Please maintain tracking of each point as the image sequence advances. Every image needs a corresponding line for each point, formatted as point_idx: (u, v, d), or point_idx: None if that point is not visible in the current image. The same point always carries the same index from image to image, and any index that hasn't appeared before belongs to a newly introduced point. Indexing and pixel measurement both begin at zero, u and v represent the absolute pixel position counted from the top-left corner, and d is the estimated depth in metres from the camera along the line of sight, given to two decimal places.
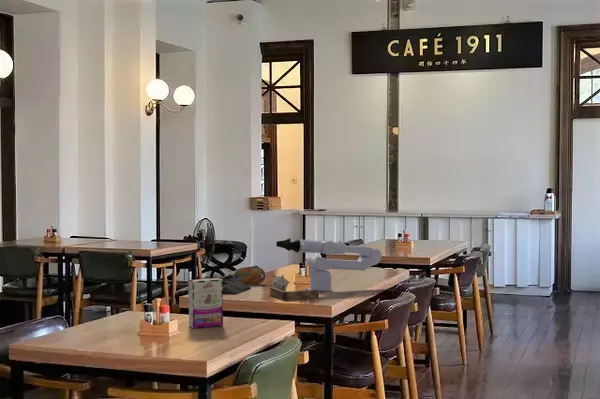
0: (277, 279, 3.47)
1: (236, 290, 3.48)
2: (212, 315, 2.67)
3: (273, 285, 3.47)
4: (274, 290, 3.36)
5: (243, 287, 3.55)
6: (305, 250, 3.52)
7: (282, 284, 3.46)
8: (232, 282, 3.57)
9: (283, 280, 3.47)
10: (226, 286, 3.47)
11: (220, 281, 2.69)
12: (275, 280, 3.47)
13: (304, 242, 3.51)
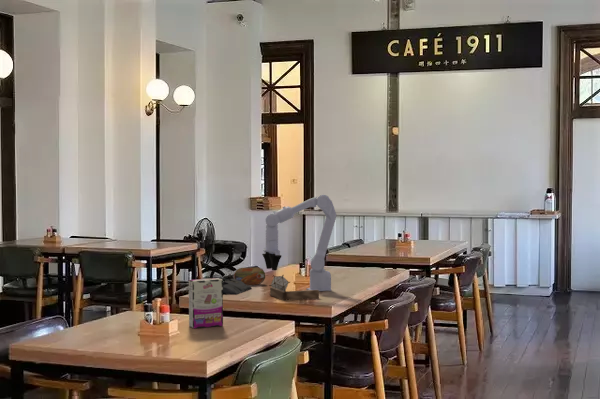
0: (277, 279, 3.47)
1: (236, 290, 3.47)
2: (212, 315, 2.67)
3: (273, 285, 3.47)
4: (274, 290, 3.36)
5: (244, 287, 3.54)
6: (277, 243, 3.56)
7: (282, 284, 3.46)
8: (233, 282, 3.57)
9: (283, 280, 3.47)
10: (226, 286, 3.47)
11: (220, 281, 2.69)
12: (275, 280, 3.47)
13: (270, 246, 3.55)
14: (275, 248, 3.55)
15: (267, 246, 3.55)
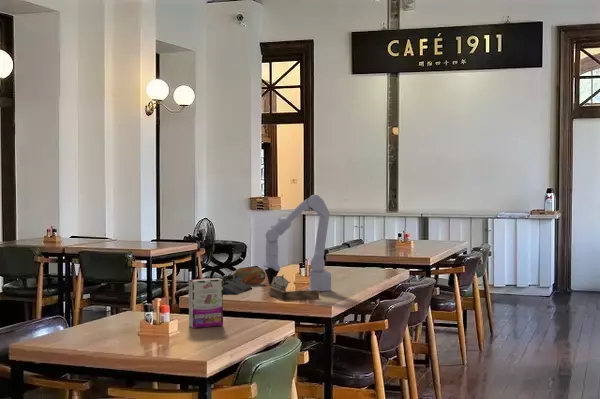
0: (277, 279, 3.47)
1: (237, 290, 3.47)
2: (212, 315, 2.67)
3: (273, 285, 3.47)
4: (274, 290, 3.36)
5: (244, 287, 3.54)
6: (277, 259, 3.56)
7: (282, 284, 3.46)
8: (233, 282, 3.57)
9: (283, 280, 3.47)
10: (227, 286, 3.47)
11: (220, 281, 2.69)
12: (275, 280, 3.47)
13: (270, 261, 3.55)
14: (275, 263, 3.55)
15: (267, 261, 3.55)
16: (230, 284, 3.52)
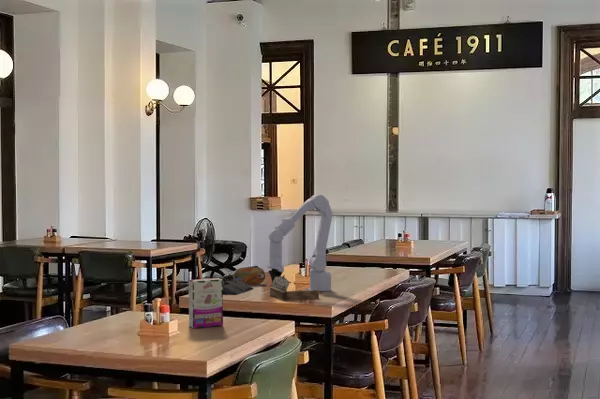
0: (278, 279, 3.46)
1: (237, 290, 3.47)
2: (212, 315, 2.67)
3: (274, 285, 3.46)
4: (274, 290, 3.36)
5: (245, 287, 3.54)
6: (281, 260, 3.52)
7: (283, 284, 3.45)
8: (234, 282, 3.56)
9: (284, 280, 3.46)
10: (227, 286, 3.46)
11: (220, 281, 2.69)
12: (276, 280, 3.46)
13: (273, 262, 3.51)
14: (279, 264, 3.51)
15: (271, 262, 3.51)
16: (230, 284, 3.52)
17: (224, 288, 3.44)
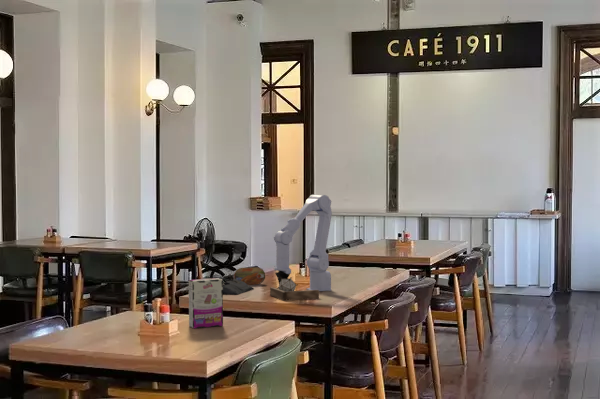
0: (284, 282, 3.38)
1: (237, 290, 3.46)
2: (212, 315, 2.67)
3: (280, 288, 3.39)
4: (274, 290, 3.36)
5: (245, 287, 3.54)
6: (288, 261, 3.45)
7: (289, 287, 3.37)
8: (235, 282, 3.56)
9: (290, 283, 3.38)
10: (227, 286, 3.46)
11: (220, 281, 2.69)
12: (282, 283, 3.38)
13: (281, 264, 3.43)
14: (286, 266, 3.44)
15: (278, 264, 3.44)
16: (231, 284, 3.51)
17: (224, 288, 3.44)
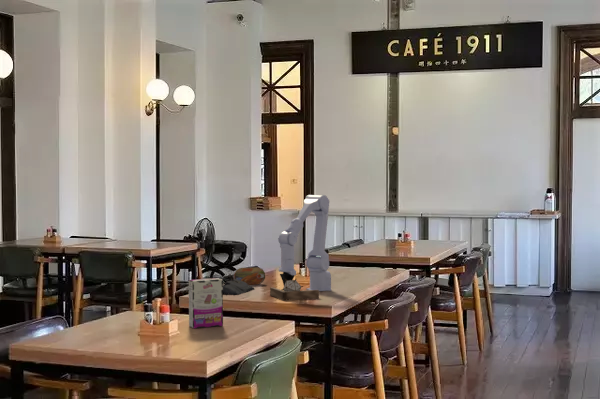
0: (289, 283, 3.33)
1: (238, 290, 3.46)
2: (212, 315, 2.67)
3: (285, 289, 3.34)
4: (274, 290, 3.36)
5: (246, 287, 3.53)
6: (293, 263, 3.40)
7: (294, 288, 3.32)
8: (235, 282, 3.56)
9: (295, 284, 3.33)
10: (228, 286, 3.46)
11: (220, 281, 2.69)
12: (287, 284, 3.33)
13: (285, 265, 3.38)
14: (291, 267, 3.39)
15: (282, 265, 3.39)
16: (232, 284, 3.51)
17: (225, 288, 3.43)
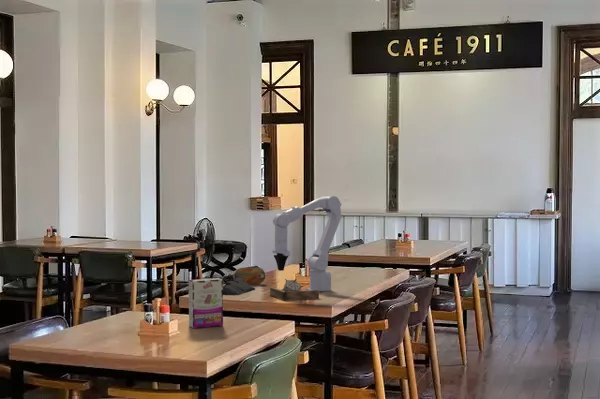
0: (289, 283, 3.34)
1: (238, 291, 3.46)
2: (212, 315, 2.67)
3: (285, 289, 3.34)
4: (274, 290, 3.36)
5: (247, 288, 3.53)
6: (286, 244, 3.49)
7: (294, 288, 3.32)
8: (236, 283, 3.55)
9: (295, 284, 3.33)
10: (228, 286, 3.46)
11: (220, 281, 2.69)
12: (287, 284, 3.34)
13: (279, 246, 3.47)
14: (284, 249, 3.48)
15: (276, 247, 3.48)
16: (232, 284, 3.51)
17: (225, 288, 3.43)
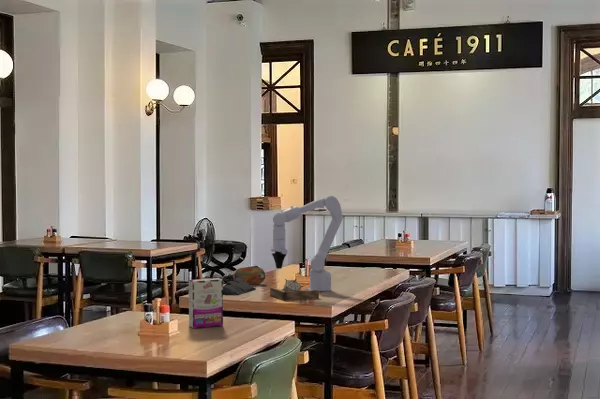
0: (289, 283, 3.34)
1: (238, 291, 3.45)
2: (212, 315, 2.67)
3: (285, 289, 3.34)
4: (274, 290, 3.36)
5: (247, 288, 3.52)
6: (284, 242, 3.56)
7: (294, 288, 3.32)
8: (237, 283, 3.55)
9: (295, 284, 3.33)
10: (228, 287, 3.45)
11: (220, 281, 2.69)
12: (287, 284, 3.34)
13: (277, 245, 3.55)
14: (282, 247, 3.55)
15: (274, 245, 3.55)
16: (232, 284, 3.50)
17: (225, 288, 3.43)
